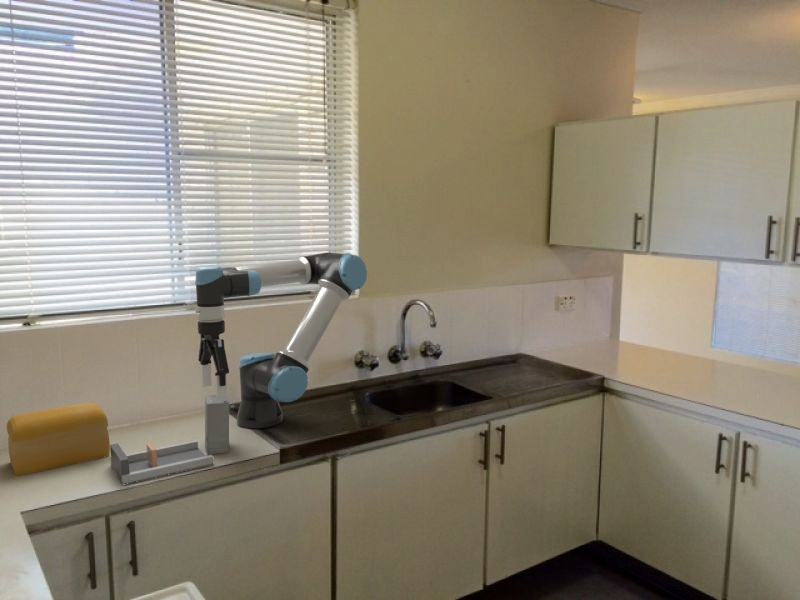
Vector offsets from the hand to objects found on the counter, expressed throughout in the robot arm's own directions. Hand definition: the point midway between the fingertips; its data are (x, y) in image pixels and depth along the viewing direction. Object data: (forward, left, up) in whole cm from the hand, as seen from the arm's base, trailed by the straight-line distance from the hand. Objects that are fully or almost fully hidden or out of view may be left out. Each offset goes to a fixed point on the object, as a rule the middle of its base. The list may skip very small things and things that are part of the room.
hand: (214, 391), depth 196 cm
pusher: (+19, +3, -17) cm, 26 cm away
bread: (+40, -19, -18) cm, 48 cm away
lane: (+17, +3, -18) cm, 25 cm away
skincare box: (0, 0, -18) cm, 18 cm away
